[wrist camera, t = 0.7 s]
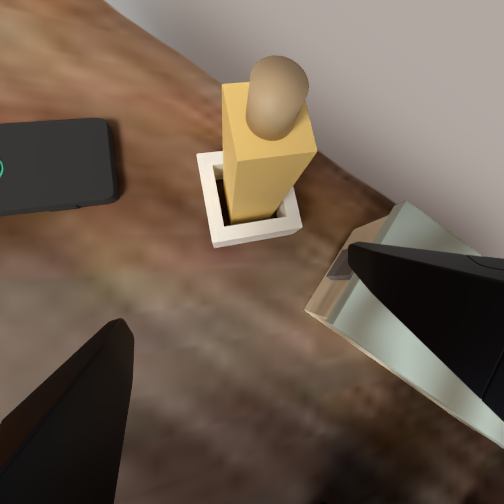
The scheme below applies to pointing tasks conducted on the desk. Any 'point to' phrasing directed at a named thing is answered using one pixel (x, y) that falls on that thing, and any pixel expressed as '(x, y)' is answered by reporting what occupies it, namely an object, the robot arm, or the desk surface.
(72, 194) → the smart home device
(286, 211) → the white square frame
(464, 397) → the toolbox
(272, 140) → the yellow block with peg
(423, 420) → the desk surface
